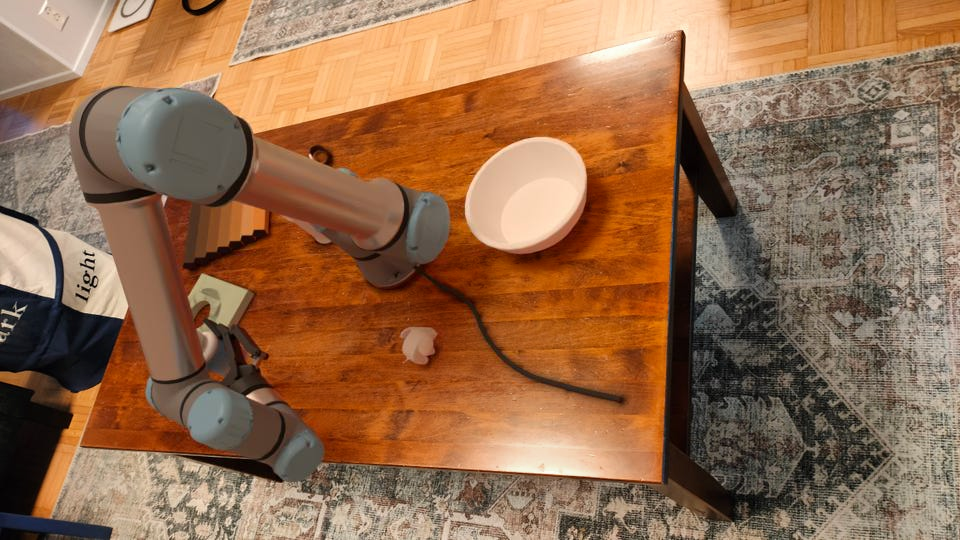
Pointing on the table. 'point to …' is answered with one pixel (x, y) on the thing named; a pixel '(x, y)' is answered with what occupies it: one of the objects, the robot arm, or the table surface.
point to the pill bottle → (216, 353)
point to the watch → (316, 148)
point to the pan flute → (221, 231)
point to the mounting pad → (219, 301)
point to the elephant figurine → (418, 343)
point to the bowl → (527, 195)
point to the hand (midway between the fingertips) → (197, 337)
